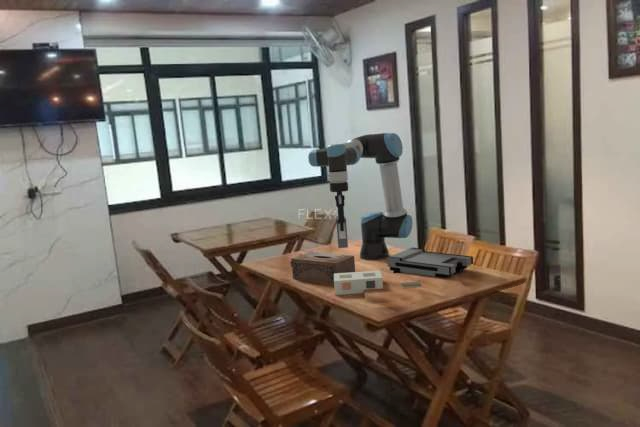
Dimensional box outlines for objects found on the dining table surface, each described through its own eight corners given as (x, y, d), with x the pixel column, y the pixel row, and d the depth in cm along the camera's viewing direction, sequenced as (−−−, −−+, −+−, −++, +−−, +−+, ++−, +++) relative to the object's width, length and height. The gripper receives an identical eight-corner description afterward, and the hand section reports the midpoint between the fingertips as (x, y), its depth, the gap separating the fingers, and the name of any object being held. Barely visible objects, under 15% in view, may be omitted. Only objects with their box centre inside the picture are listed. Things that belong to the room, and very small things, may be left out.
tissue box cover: (355, 276, 257) (354, 255, 256) (337, 285, 246) (335, 263, 244) (312, 271, 273) (310, 251, 271) (293, 279, 262) (291, 258, 260)
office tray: (449, 283, 235) (448, 264, 234) (388, 274, 257) (387, 256, 256) (473, 271, 250) (472, 253, 249) (413, 263, 272) (412, 247, 271)
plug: (347, 245, 235) (345, 215, 233) (347, 247, 231) (345, 216, 229) (338, 246, 235) (336, 216, 233) (338, 248, 231) (336, 217, 229)
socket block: (334, 286, 242) (333, 273, 242) (380, 283, 242) (379, 270, 241) (334, 295, 230) (333, 281, 229) (383, 291, 230) (382, 277, 229)
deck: (400, 286, 235) (400, 282, 235) (419, 284, 235) (419, 281, 235) (403, 291, 228) (402, 288, 227) (422, 290, 227) (422, 286, 227)
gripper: (329, 180, 238) (333, 234, 241) (329, 184, 221) (333, 242, 224) (347, 179, 238) (350, 233, 241) (348, 183, 221) (352, 240, 224)
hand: (342, 237), depth 233 cm, fingers closed on plug, 4 cm apart
